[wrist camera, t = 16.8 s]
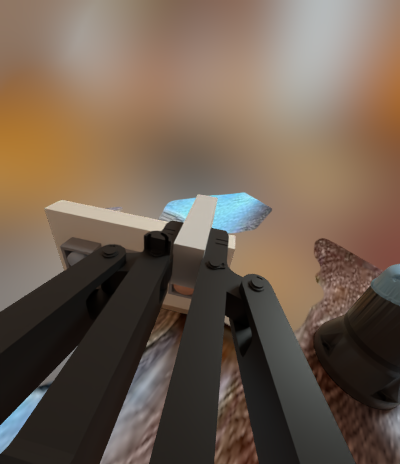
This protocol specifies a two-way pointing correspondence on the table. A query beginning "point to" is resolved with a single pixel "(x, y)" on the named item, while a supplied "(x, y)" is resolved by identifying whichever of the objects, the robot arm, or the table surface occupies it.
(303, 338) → the table surface
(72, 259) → the slate button
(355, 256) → the table surface
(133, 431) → the table surface
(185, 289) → the terracotta button
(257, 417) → the robot arm
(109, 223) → the button panel
